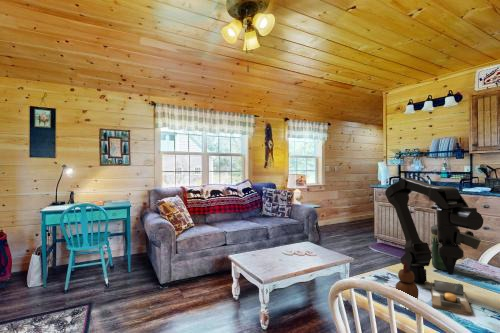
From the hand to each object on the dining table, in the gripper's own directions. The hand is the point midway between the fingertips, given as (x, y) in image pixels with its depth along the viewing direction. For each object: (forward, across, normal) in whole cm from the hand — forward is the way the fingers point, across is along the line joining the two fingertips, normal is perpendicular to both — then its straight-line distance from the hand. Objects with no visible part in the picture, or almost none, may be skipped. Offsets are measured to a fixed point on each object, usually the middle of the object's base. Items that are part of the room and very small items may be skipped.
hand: (449, 269), depth 92 cm
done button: (+8, -6, 0) cm, 10 cm away
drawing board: (+10, -1, 0) cm, 10 cm away
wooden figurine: (+10, -10, +13) cm, 19 cm away
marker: (+9, +3, 0) cm, 10 cm away
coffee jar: (+10, +34, 0) cm, 36 cm away
